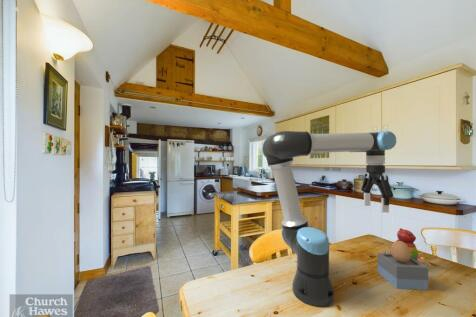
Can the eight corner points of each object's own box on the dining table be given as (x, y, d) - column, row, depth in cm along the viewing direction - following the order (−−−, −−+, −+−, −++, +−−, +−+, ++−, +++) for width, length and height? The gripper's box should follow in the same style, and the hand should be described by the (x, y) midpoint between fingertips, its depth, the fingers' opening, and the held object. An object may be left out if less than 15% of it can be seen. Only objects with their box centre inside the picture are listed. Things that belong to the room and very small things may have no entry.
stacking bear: (426, 273, 92) (425, 234, 92) (401, 270, 94) (400, 232, 94) (410, 261, 102) (410, 227, 102) (388, 259, 104) (388, 225, 104)
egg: (414, 267, 81) (414, 245, 82) (394, 264, 83) (394, 243, 84) (405, 259, 88) (405, 239, 88) (387, 257, 90) (387, 237, 90)
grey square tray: (396, 288, 80) (396, 266, 80) (377, 272, 92) (377, 252, 92) (428, 290, 79) (428, 267, 79) (404, 273, 91) (404, 253, 91)
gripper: (403, 165, 83) (403, 215, 83) (368, 164, 108) (368, 203, 108) (385, 164, 84) (385, 215, 83) (353, 164, 108) (353, 203, 108)
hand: (375, 208), depth 95 cm, fingers open, 13 cm apart
